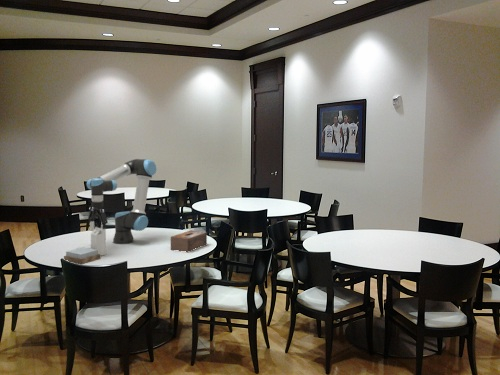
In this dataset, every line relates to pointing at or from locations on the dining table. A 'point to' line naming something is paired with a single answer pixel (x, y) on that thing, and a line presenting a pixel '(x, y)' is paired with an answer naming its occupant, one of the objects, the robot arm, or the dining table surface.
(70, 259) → the bottom slab
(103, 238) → the milk carton
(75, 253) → the top slab
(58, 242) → the dining table surface
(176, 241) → the tissue box cover
